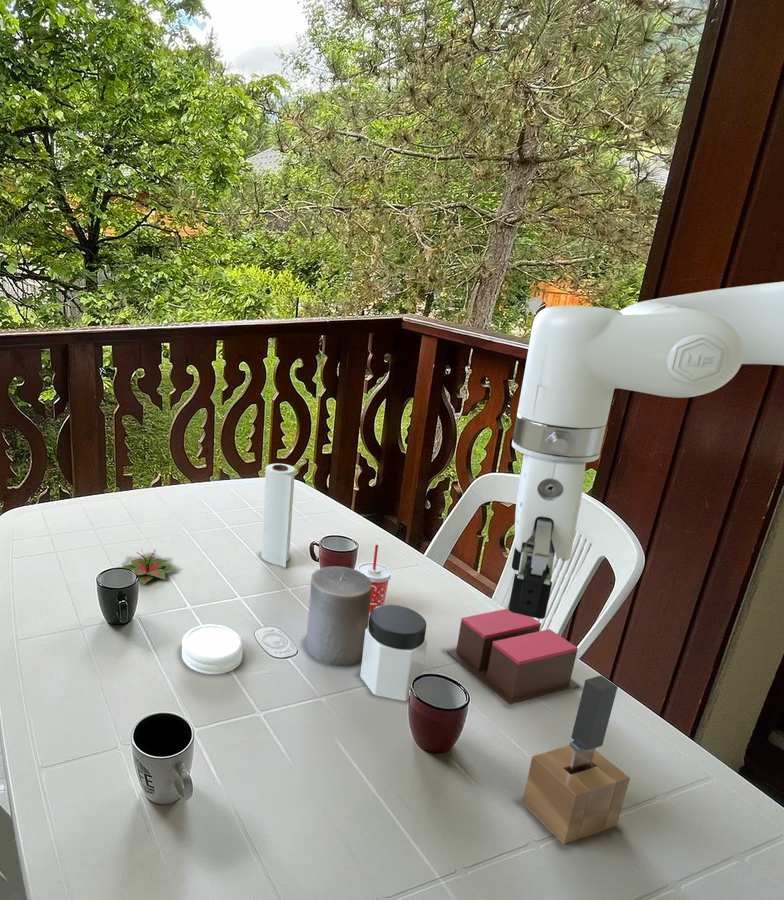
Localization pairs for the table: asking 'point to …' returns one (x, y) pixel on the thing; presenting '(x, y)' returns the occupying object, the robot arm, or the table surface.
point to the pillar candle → (338, 615)
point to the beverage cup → (376, 580)
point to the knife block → (574, 794)
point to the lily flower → (149, 567)
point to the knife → (591, 721)
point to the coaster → (212, 649)
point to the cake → (515, 655)
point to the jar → (393, 651)
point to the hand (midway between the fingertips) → (526, 591)
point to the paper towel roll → (277, 513)
